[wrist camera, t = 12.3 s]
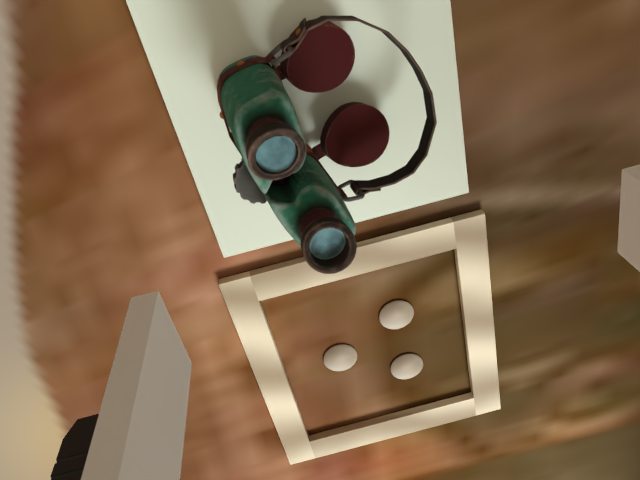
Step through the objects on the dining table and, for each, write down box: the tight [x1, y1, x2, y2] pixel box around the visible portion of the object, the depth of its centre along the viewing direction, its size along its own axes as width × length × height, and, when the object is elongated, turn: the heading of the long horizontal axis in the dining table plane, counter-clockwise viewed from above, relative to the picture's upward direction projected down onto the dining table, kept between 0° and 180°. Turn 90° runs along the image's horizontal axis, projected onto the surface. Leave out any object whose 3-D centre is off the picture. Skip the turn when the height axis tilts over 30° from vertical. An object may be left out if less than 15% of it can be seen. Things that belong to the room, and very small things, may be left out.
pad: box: [126, 0, 469, 258], centre depth 30 cm, size 16×15×1 cm
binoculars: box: [217, 16, 437, 274], centre depth 25 cm, size 9×11×10 cm
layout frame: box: [218, 209, 501, 464], centre depth 40 cm, size 18×17×1 cm
